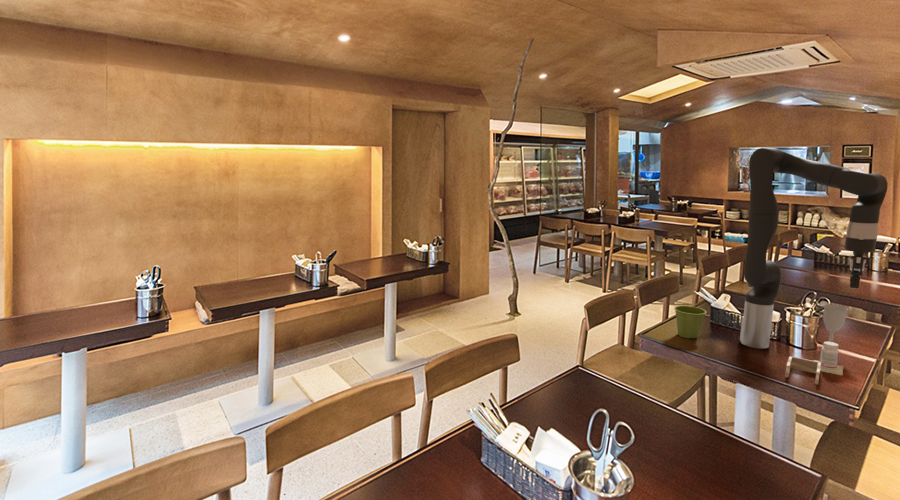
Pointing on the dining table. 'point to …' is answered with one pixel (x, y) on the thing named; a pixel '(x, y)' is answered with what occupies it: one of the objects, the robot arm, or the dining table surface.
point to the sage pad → (833, 370)
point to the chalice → (834, 318)
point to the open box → (803, 366)
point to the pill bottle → (829, 355)
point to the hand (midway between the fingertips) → (853, 285)
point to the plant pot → (689, 320)
